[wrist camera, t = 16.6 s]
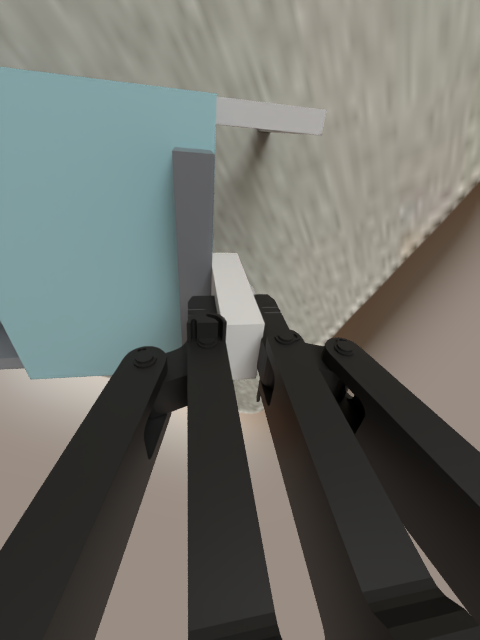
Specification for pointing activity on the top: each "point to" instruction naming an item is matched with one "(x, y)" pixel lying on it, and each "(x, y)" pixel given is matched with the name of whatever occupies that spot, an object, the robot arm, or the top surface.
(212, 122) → the lid
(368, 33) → the top surface
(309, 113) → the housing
